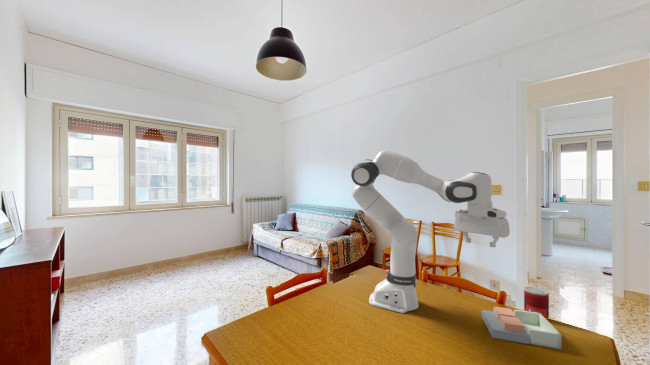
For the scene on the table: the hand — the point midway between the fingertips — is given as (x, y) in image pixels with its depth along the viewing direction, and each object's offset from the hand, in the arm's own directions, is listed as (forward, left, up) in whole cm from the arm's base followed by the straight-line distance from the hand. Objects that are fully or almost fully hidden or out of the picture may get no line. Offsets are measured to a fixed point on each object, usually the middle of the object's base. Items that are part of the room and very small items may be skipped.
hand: (480, 244), depth 104 cm
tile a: (+8, -2, -28) cm, 29 cm away
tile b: (+8, -9, -28) cm, 30 cm away
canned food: (+23, +11, -31) cm, 40 cm away
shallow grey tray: (+7, -5, -31) cm, 32 cm away
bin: (+17, -5, -31) cm, 35 cm away
